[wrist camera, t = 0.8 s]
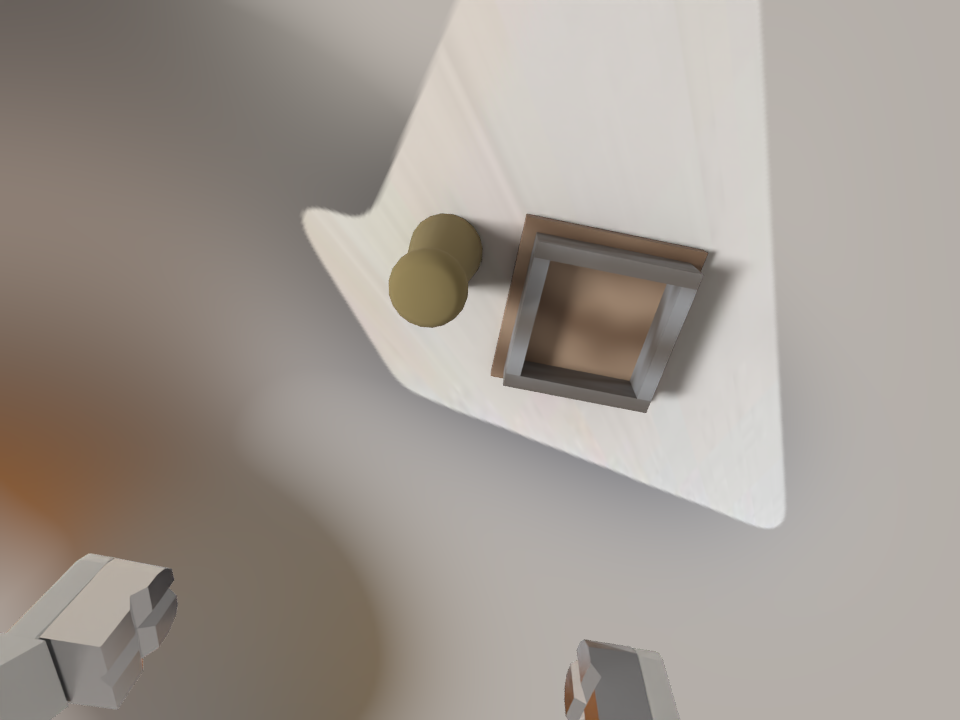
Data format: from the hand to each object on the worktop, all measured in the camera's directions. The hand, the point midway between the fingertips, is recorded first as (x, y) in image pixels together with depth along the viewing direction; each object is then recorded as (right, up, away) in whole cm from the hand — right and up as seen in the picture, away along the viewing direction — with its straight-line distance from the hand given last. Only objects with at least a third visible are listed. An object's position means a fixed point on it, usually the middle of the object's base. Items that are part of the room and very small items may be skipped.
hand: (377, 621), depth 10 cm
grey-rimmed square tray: (+11, +9, +32) cm, 35 cm away
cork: (-1, +14, +31) cm, 34 cm away
